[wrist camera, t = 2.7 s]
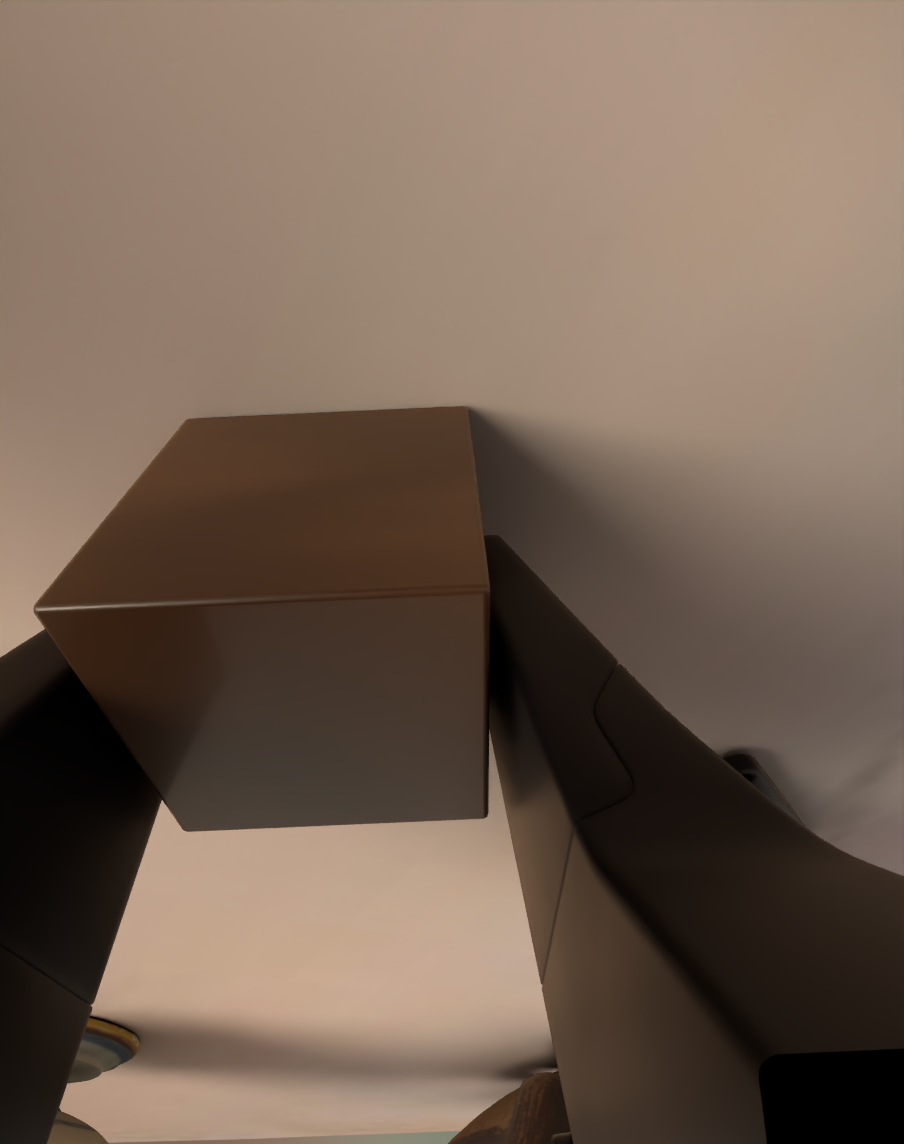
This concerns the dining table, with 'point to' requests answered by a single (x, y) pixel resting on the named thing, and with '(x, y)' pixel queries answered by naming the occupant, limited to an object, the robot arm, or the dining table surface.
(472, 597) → the block
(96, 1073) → the apothecary jar
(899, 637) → the dining table surface
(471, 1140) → the oil lamp
